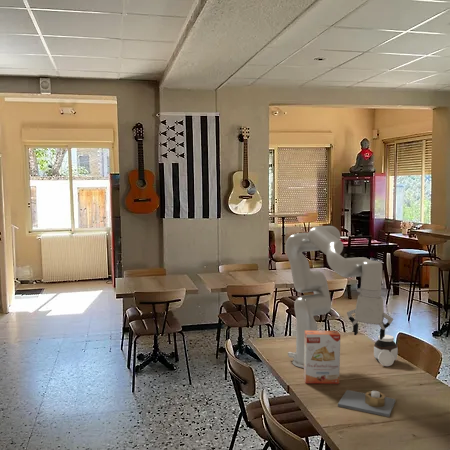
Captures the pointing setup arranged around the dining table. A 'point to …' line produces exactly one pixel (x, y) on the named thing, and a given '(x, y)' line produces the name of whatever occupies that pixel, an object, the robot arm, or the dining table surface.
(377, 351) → the spread jar
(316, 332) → the cracker box
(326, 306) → the robot arm
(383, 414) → the base
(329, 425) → the dining table surface
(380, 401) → the ring
